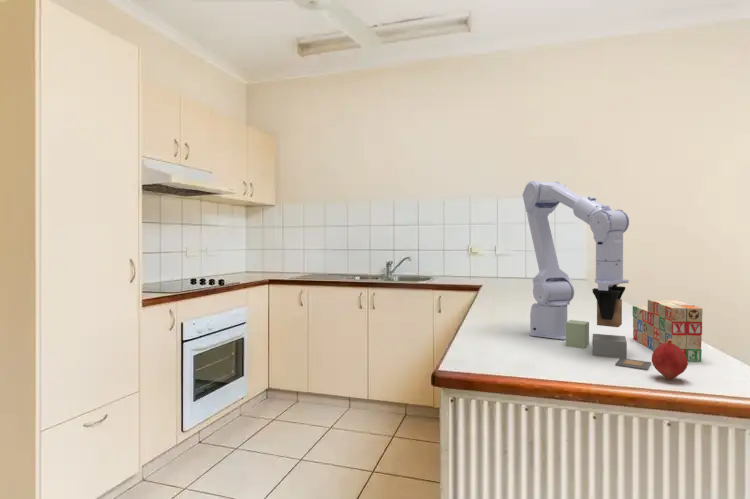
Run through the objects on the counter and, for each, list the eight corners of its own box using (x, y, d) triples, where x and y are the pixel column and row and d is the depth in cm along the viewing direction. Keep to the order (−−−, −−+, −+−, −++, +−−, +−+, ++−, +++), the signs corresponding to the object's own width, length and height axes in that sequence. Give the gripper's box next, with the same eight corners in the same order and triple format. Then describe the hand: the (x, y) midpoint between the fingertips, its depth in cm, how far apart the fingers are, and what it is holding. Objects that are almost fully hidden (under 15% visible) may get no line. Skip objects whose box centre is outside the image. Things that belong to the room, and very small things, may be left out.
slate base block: (592, 356, 102) (592, 339, 102) (593, 349, 109) (593, 333, 108) (626, 359, 99) (626, 342, 99) (625, 352, 105) (625, 336, 105)
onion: (644, 375, 87) (644, 335, 87) (671, 374, 88) (671, 334, 88) (666, 384, 82) (666, 342, 81) (695, 383, 82) (695, 341, 82)
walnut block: (596, 325, 103) (596, 300, 103) (601, 322, 107) (601, 297, 107) (618, 327, 100) (618, 301, 100) (621, 324, 104) (621, 299, 104)
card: (615, 365, 94) (615, 363, 94) (620, 359, 99) (620, 357, 99) (647, 370, 90) (647, 368, 90) (651, 363, 95) (651, 361, 95)
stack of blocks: (632, 339, 118) (632, 294, 118) (657, 340, 117) (657, 294, 116) (671, 361, 97) (671, 306, 96) (702, 362, 96) (703, 307, 95)
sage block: (565, 345, 112) (565, 322, 111) (570, 342, 115) (570, 319, 115) (584, 348, 109) (584, 324, 109) (589, 344, 112) (589, 321, 112)
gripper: (622, 262, 95) (622, 324, 95) (633, 259, 106) (633, 314, 107) (587, 262, 99) (587, 321, 100) (601, 259, 111) (601, 312, 111)
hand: (609, 317), depth 104 cm, fingers closed on walnut block, 4 cm apart
